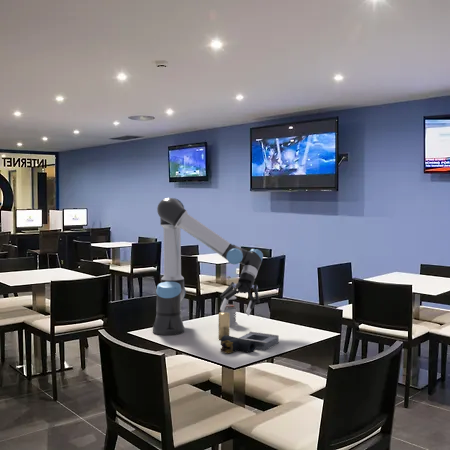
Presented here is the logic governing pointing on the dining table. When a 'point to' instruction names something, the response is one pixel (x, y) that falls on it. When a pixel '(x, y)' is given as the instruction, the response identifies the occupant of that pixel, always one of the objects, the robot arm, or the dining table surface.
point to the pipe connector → (236, 344)
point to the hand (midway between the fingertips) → (234, 312)
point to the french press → (231, 310)
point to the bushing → (223, 324)
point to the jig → (262, 340)
